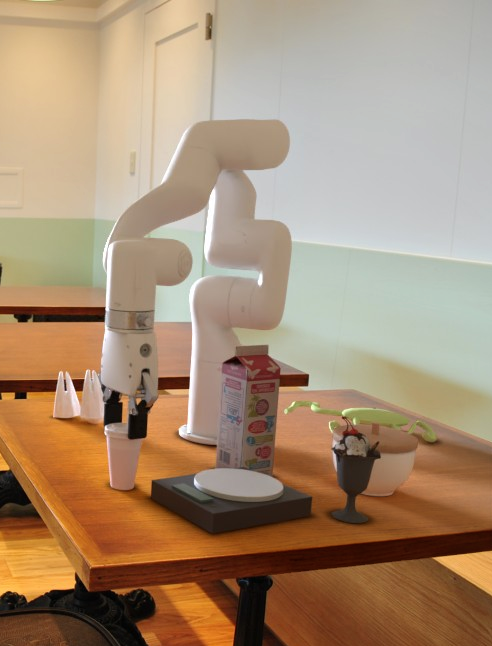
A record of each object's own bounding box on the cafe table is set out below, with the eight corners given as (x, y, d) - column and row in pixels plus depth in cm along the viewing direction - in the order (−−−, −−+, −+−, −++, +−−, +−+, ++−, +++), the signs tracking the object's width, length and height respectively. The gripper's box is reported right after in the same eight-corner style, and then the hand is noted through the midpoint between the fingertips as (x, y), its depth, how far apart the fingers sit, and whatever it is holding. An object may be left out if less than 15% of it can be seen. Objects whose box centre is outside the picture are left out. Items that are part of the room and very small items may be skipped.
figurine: (273, 424, 174) (275, 398, 173) (386, 419, 179) (389, 394, 178) (323, 449, 156) (326, 420, 155) (447, 444, 161) (450, 416, 160)
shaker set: (111, 423, 171) (113, 370, 169) (100, 427, 168) (102, 374, 166) (62, 413, 178) (64, 363, 176) (51, 417, 175) (53, 365, 173)
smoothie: (141, 494, 130) (145, 407, 127) (100, 491, 131) (103, 404, 128) (143, 481, 136) (147, 398, 133) (104, 478, 137) (107, 395, 135)
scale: (242, 484, 135) (244, 461, 135) (310, 516, 122) (313, 491, 121) (150, 498, 128) (151, 475, 127) (212, 534, 115) (214, 508, 114)
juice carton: (215, 469, 143) (223, 343, 139) (246, 465, 145) (255, 341, 142) (240, 481, 137) (249, 349, 133) (272, 476, 139) (282, 347, 136)
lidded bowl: (406, 508, 126) (414, 438, 124) (320, 491, 133) (326, 425, 131) (417, 485, 137) (424, 420, 135) (336, 471, 143) (342, 409, 141)
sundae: (317, 509, 125) (325, 412, 122) (360, 508, 126) (369, 412, 123) (337, 526, 118) (346, 424, 116) (382, 525, 119) (392, 424, 117)
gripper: (183, 327, 123) (176, 444, 126) (120, 312, 138) (115, 417, 141) (140, 329, 119) (134, 450, 122) (80, 314, 135) (77, 421, 138)
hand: (124, 431), depth 132 cm, fingers closed on smoothie, 6 cm apart
